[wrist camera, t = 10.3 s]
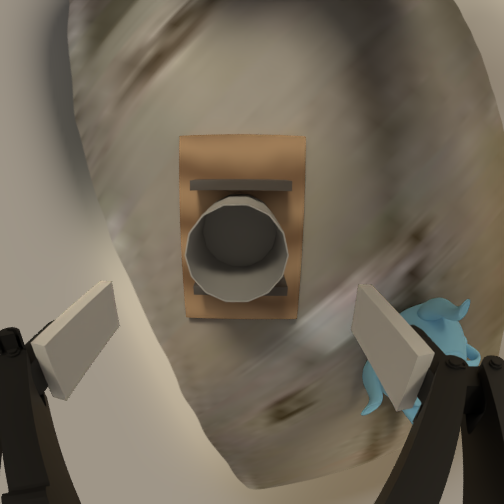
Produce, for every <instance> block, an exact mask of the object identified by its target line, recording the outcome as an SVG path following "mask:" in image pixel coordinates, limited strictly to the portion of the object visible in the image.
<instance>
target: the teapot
mask: <svg viewBox="0 0 504 504" xmlns="http://www.w3.org/2000/svg"><path fill="white" fill-rule="evenodd" d="M469 306H470V299H467V300H465V301H464V302H463V303H462V304H461V305H460V306H455V305H454V304H452V303H451V302H450V301H448V300H447V299H444V298H433V299H430V300H428V301H427V302H425V303H423V304H419V305H416V306H413V307H410V308H408V309H406V310H404V311H402V312H401V313H399V314H400V315H401V316H402V317H403V318H404V319H405V320H406V322H407V323H408V324H409V325H415V326H417V327H419V328H421V329H422V330H423V331H424V332H425V333H426V334H427V335H428V337H430V338H431V339H432V342H433V341H434V343H435V344H436V345H437V346H438V347H439V348H440V349H441V350H442V351H443V352H444V353H445V355H455V356H458V357H461V358H462V359H464V360H465V361H466V362H467V364H468V366H478V365H479V363H480V358H481V357H480V354H479V352H478V351H477V350H476V349H475V348H473V347H472V346H470V345H469V344H467V339H466V337H465V336H464V333H463V330H462V328H461V325H460V324H459V322H458V321H459V320H461V319H462V318H463V317H464V316H465V315H466V313H467V311H468V309H469ZM467 357H468V358H469V359H470V360H471V361H467ZM362 378H363V384H364V386H365V389H366V391H367V393H368V395H369V403H368V405H367V406H366V407H365V409H364V410H363V411H362V413H361V415H367V414H369V413H371V412H373V411H374V410H375V409H377V408H378V407H379V406H380V404H381V402H382V399H383V393H384V394H385V395H386V396H388V395H387V393H386V391H385V389H384V387H383V386H382V384H381V382H380V380H379V378H378V377H377V375H376V373H375V371H374V369H373V368H372V366H371V364H370V362H369V361H367V362H366V364H365V366H364V368H363V375H362ZM382 392H383V393H382ZM420 405H421V402H420V400H419V399H418V397H417V399H416V401H415V403H414V406H413V408H410V409H406V410H402V411H403V412H404V414H405V415H406V417H407V418H408V419H409V420H410V422H411V423H412V424H413V423H414V422H412V421H413V419H414V417H415V415H416V413H417V411H418V409H419V407H420Z"/></svg>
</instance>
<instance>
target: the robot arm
mask: <svg viewBox="0 0 504 504" xmlns="http://www.w3.org/2000/svg"><path fill="white" fill-rule="evenodd" d="M119 326H120V325H119V320H118V315H117V309H116V304H115V298H114V292H113V285H112V281H99V282H98V283H97V284H96V285H95V286H93V287H92V288H91V289H90V290H89V291H88V292H86V293H85V294H84V295H83V296H82V297H81V298H79V299H78V300H77V301H76V302H75V303H74V304H72V305H71V306H70V307H69V308H68V309H67V310H66V311H65V312H63V313H62V314H61V315H60V316H59V317H58V318H57V319H55V320H53V321H51V322H49V323H48V324H47V325H46V326H45V327H44V328H43V330H40V331H39V332H38V334H36V335H35V336H34V337H33V338H32V339H31V340H30V341H28V342H27V343H26V344H25V345H24V342H23V339H22V336H21V333H20V330H19V329H17V328H14V327H10V328H5V329H2V330H1V331H0V467H1V457H2V453H3V460H4V467H5V473H6V478H7V484H8V489H9V492H8V493H5V494H2V497H1V499H2V504H81V502H80V500H79V497H78V495H77V493H76V490H75V488H74V486H73V483H72V480H71V478H70V475H69V473H68V470H67V467H66V464H65V461H64V459H63V456H62V453H61V449H60V446H59V443H58V439H57V436H56V432H55V429H54V425H53V421H52V417H51V413H50V409H49V404H48V400H47V397H46V395H45V392H44V391H45V390H46V389H47V387H49V389H50V391H51V394H52V396H53V397H55V398H58V399H62V400H65V401H67V400H68V398H69V396H70V395H71V394H72V392H73V391H74V389H75V388H76V386H77V385H78V383H79V382H80V380H81V379H82V377H83V376H84V375H85V373H86V372H87V370H88V369H89V367H90V366H91V365H92V363H93V362H94V360H95V359H96V358H97V356H98V355H99V353H100V352H101V350H102V349H103V348H104V347H105V345H106V344H107V342H108V341H109V340H110V338H111V337H112V336H113V334H114V333H115V331H116V330H117V329H118V328H119ZM351 331H352V333H353V334H354V336H355V338H356V340H357V341H358V343H359V345H360V347H361V348H362V350H363V352H364V354H365V355H366V357H367V359H368V361H369V362H370V364H371V366H372V368H373V369H374V371H375V373H376V375H377V377H378V378H379V380H380V382H381V384H382V386H383V387H384V389H385V391H386V393H387V395H388V397H389V399H390V400H391V402H392V404H393V406H394V408H395V410H396V412H397V411H401V410H406V409H410V408H413V406H414V403H415V401H416V399H417V397H418V399H419V400H420V402H421V405H420V407H419V409H418V411H417V413H416V415H415V417H414V419H413V421H412V422H414V423H413V425H412V428H411V430H410V433H409V435H408V437H407V440H406V442H405V444H404V447H403V449H402V451H401V453H400V455H399V458H398V460H397V462H396V464H395V466H394V468H393V470H392V472H391V474H390V476H389V478H388V480H387V482H386V483H385V485H384V487H383V489H382V491H381V493H380V495H379V496H378V498H377V500H376V501H375V503H374V504H439V502H440V499H441V496H442V494H443V491H444V488H445V485H446V482H447V478H448V475H449V472H450V468H451V465H452V461H453V458H454V454H455V450H456V446H457V441H458V436H459V432H460V427H461V435H462V447H463V448H462V449H463V481H464V482H463V504H504V360H503V359H502V358H500V357H498V356H486V357H484V359H483V361H482V363H481V365H480V366H468V364H467V362H466V361H465V360H464V359H462V358H461V357H458V356H455V355H445V353H444V352H443V351H442V350H441V349H440V348H439V347H438V346H437V345H436V344H435V343H434V341H433V342H432V339H431V338H430V337H428V335H427V334H426V333H425V332H424V331H423V330H422V329H421V328H419V327H417V326H415V325H409V324H408V323H407V322H406V320H405V319H404V318H403V317H402V316H401V315H400V314H399V313H398V312H397V311H396V310H395V309H394V308H393V307H392V305H391V304H390V303H389V302H388V301H387V300H386V299H385V298H384V297H383V296H382V295H381V294H380V293H379V292H378V291H377V290H376V289H375V288H374V287H373V286H372V285H371V284H369V285H358V291H357V297H356V303H355V310H354V316H353V321H352V327H351Z"/></svg>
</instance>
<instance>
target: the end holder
mask: <svg viewBox="0 0 504 504" xmlns="http://www.w3.org/2000/svg"><path fill="white" fill-rule="evenodd" d="M305 155H306V137H304V136H285V135H251V134H226V135H191V136H180V143H179V188H180V227H181V250H182V267H183V283H184V296H185V308H186V317H190V318H220V319H297V311H298V299H299V286H300V272H301V256H302V239H303V219H304V194H305ZM230 194H249V195H251V196H253V197H255V198H257V199H259V200H261V201H263V202H264V203H265V204H266V206H267V207H268V208H269V209H270V211H271V212H272V213H273V214H274V216H275V218H276V219H277V221H278V223H279V225H280V226H281V228H282V230H283V231H284V233H285V238H286V243H287V248H288V253H289V257H288V260H287V264H286V267H285V271H284V275H283V277H282V278H281V279H280V281H279V282H278V283H277V284H276V285H275V286H274V287H273V289H272V290H271V291H270V292H269V293H268V294H265V295H263V296H261V297H259V298H256V299H254V300H252V301H249V302H225V301H222V300H220V299H218V298H216V297H213V296H211V295H209V294H207V293H205V292H204V291H203V290H202V288H201V287H200V286H199V285H198V284H197V283H196V282H195V281H194V280H193V278H192V277H191V275H190V272H189V269H188V265H187V262H186V259H185V250H186V244H187V238H188V233H189V232H190V230H191V229H192V228H193V226H194V225H195V224H196V222H197V221H198V220H199V218H200V217H201V216H202V214H203V213H205V212H206V211H207V210H208V209H209V208H210V207H211V206H212V205H213V204H214V203H215V202H216V201H218V200H220V199H222V198H224V197H226V196H228V195H230Z"/></svg>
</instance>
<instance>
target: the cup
mask: <svg viewBox="0 0 504 504" xmlns="http://www.w3.org/2000/svg"><path fill="white" fill-rule="evenodd" d="M288 257H289V253H288V248H287V243H286V238H285V233H284V231H283V230H282V228H281V226H280V225H279V223H278V221H277V219H276V218H275V216H274V214H273V213H272V212H271V211H270V209H269V208H268V207H267V206H266V204H265V203H264V202H263V201H261V200H259V199H257V198H255V197H253V196H251V195H249V194H230V195H228V196H226V197H224V198H222V199H220V200H218V201H216V202H215V203H214V204H213V205H212V206H211V207H210V208H209V209H208V210H207V211H206V212H205V213H203V214H202V216H201V217H200V218H199V220H198V221H197V222H196V224H195V225H194V226H193V228H192V229H191V230H190V232H189V233H188V238H187V244H186V250H185V259H186V262H187V265H188V269H189V272H190V275H191V277H192V278H193V280H194V281H195V282H196V283H197V284H198V285H199V286H200V287H201V288H202V290H203V291H204V292H205V293H207V294H209V295H211V296H213V297H216V298H218V299H220V300H222V301H225V302H249V301H252V300H254V299H256V298H259V297H261V296H263V295H265V294H268V293H269V292H270V291H271V290H272V289H273V287H274V286H275V285H276V284H277V283H278V282H279V281H280V279H281V278H282V277H283V275H284V271H285V267H286V264H287V260H288Z"/></svg>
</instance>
